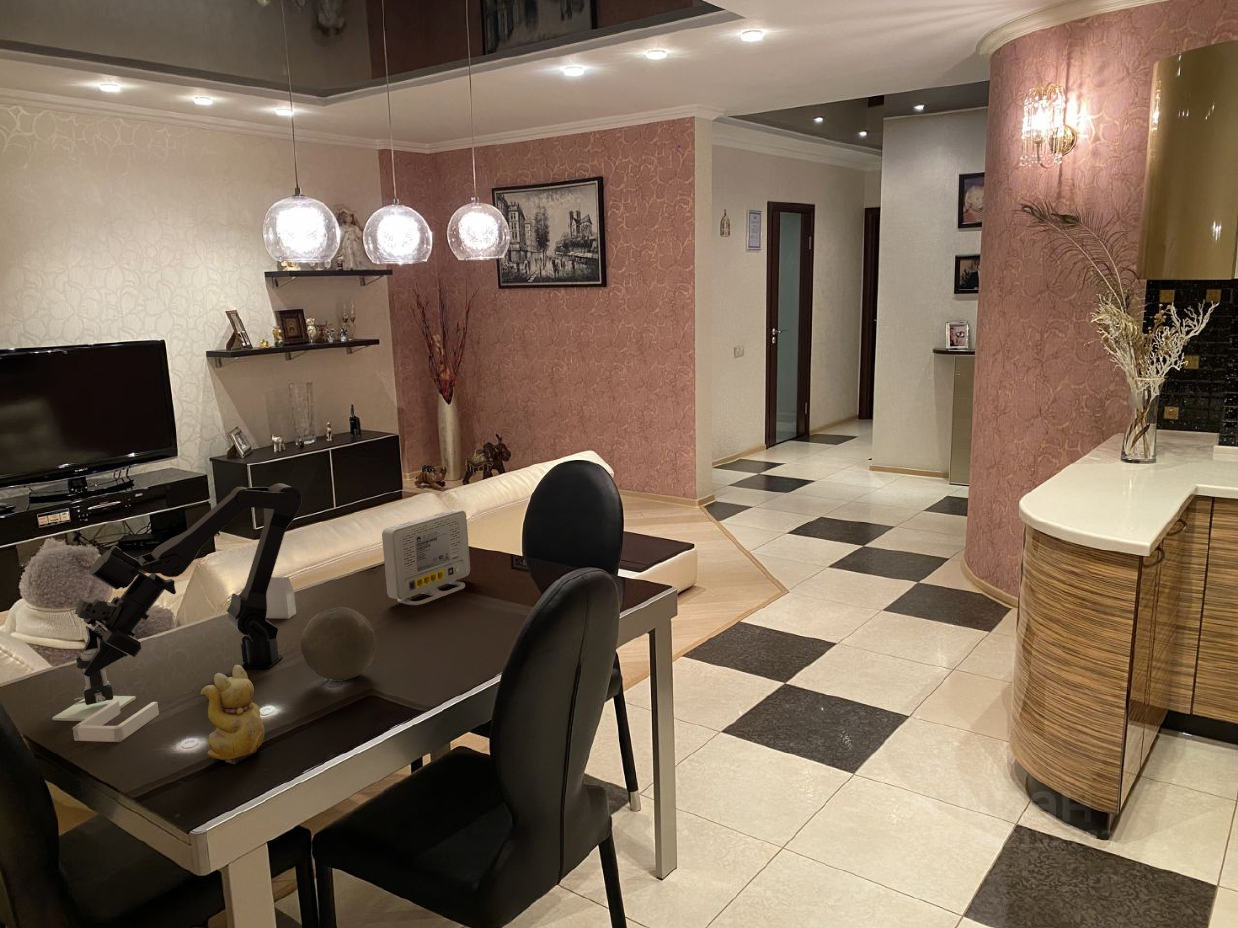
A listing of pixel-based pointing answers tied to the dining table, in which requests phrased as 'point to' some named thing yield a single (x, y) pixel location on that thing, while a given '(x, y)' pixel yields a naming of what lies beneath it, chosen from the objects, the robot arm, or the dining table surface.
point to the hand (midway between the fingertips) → (82, 671)
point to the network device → (426, 556)
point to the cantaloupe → (338, 643)
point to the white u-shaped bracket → (96, 732)
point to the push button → (94, 681)
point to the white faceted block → (280, 598)
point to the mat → (89, 709)
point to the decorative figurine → (233, 717)
